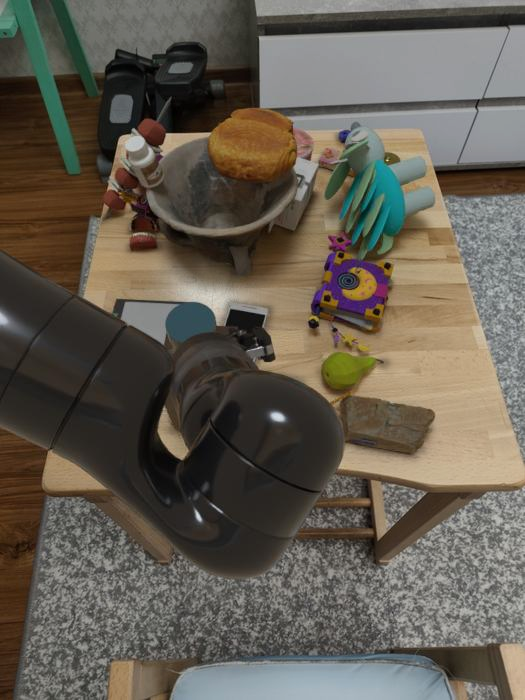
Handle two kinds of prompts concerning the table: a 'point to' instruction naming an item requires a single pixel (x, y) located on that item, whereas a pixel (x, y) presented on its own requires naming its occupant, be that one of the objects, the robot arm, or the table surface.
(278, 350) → the table surface
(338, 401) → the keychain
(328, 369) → the fruit
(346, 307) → the book
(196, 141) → the bowl
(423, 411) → the stone
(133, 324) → the scale
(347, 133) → the blue irregular piece
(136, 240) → the dentures model
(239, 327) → the smartphone
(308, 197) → the ink box
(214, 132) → the bread loaf
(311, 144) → the container
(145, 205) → the toy car
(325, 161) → the toy
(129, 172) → the skewer
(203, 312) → the jar
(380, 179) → the teal bird figurine
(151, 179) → the pill bottle
